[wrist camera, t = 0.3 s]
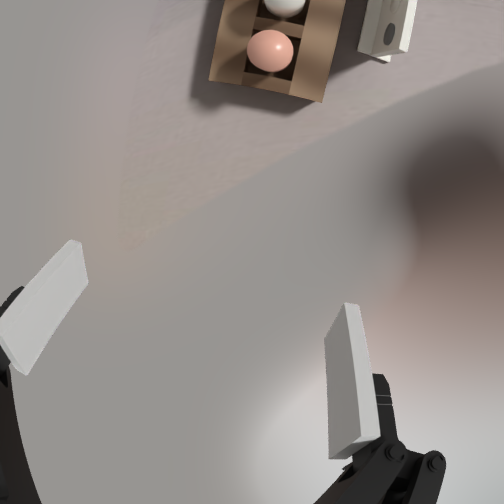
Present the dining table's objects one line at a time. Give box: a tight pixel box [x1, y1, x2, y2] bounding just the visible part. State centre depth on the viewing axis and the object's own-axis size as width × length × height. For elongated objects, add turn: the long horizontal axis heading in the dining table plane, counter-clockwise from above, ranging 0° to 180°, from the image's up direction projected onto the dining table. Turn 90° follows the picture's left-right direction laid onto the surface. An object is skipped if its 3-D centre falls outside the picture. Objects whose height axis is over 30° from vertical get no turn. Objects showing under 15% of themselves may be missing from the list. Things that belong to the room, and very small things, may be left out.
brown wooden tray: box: [208, 0, 346, 103], centre depth 23 cm, size 21×12×4 cm, turn 169°
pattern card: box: [357, 0, 417, 62], centre depth 19 cm, size 12×4×10 cm, turn 169°
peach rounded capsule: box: [247, 30, 293, 72], centre depth 23 cm, size 4×4×5 cm
